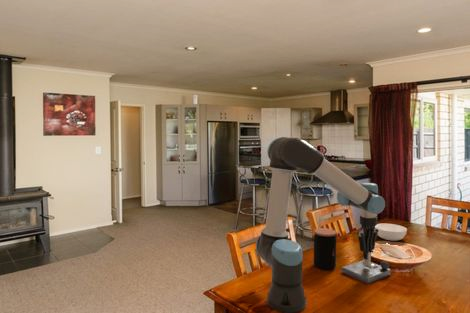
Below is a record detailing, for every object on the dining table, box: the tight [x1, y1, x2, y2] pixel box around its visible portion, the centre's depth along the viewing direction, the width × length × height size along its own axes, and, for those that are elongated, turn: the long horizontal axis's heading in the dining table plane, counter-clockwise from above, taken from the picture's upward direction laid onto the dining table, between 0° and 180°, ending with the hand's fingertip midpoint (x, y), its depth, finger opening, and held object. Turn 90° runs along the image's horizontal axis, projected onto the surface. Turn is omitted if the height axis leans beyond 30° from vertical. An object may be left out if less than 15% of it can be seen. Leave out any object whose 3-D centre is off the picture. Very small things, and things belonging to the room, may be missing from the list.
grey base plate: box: [341, 259, 392, 285], centre depth 154 cm, size 17×14×2 cm
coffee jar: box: [313, 227, 338, 272], centre depth 161 cm, size 11×11×18 cm
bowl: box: [375, 222, 408, 242], centre depth 205 cm, size 18×18×7 cm
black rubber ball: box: [379, 260, 390, 269], centre depth 153 cm, size 4×4×4 cm
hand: (366, 265), depth 154 cm, fingers closed
